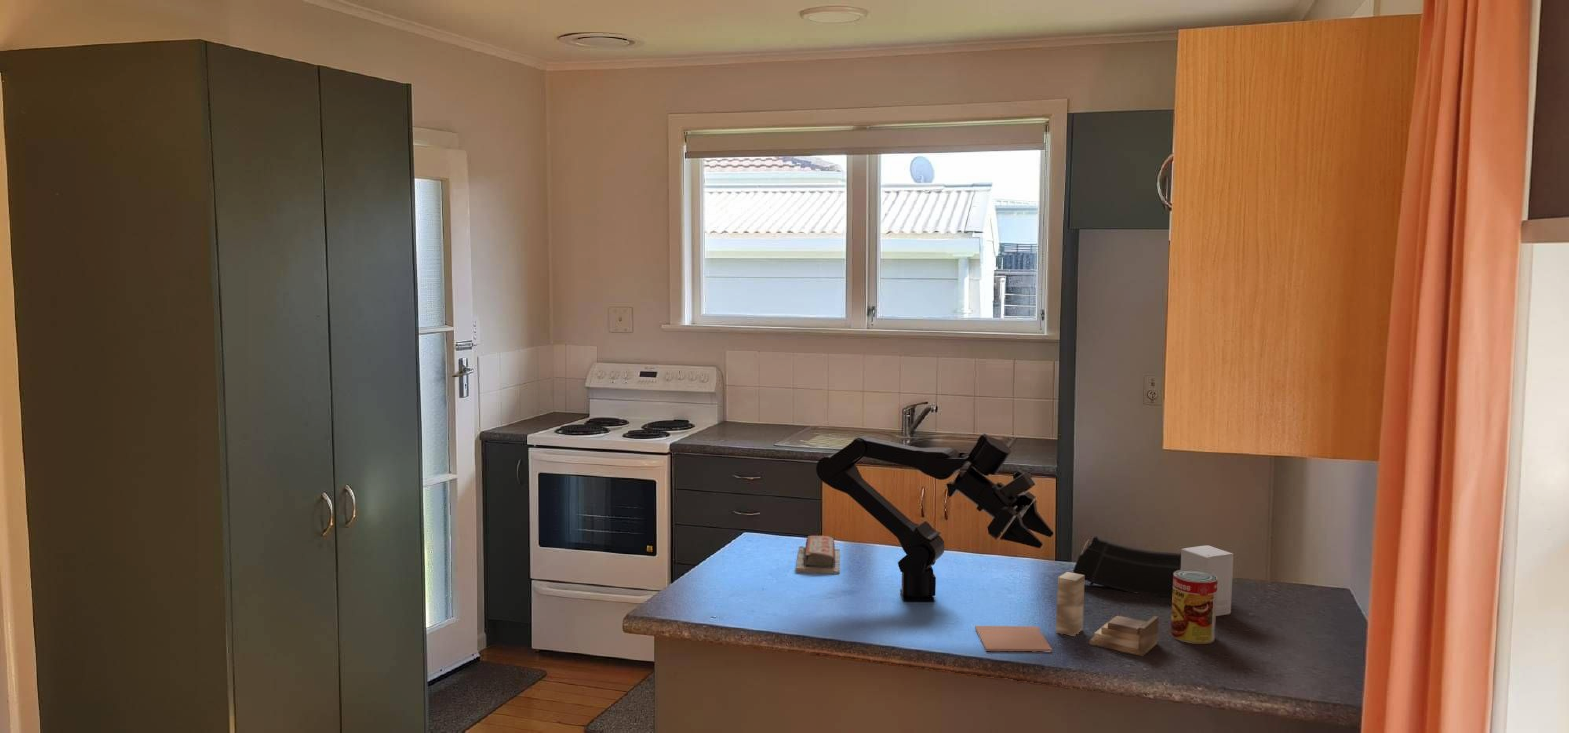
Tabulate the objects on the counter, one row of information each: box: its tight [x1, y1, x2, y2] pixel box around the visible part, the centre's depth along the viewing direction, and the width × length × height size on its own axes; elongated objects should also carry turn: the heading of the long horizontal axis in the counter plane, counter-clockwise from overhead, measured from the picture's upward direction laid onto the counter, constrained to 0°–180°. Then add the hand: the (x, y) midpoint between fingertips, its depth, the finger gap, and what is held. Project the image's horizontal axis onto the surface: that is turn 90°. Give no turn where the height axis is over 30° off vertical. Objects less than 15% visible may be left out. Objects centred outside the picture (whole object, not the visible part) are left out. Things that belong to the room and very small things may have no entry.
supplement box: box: [1180, 544, 1234, 617], centre depth 224 cm, size 7×7×13 cm
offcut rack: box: [1089, 615, 1159, 657], centre depth 206 cm, size 10×8×5 cm
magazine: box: [1072, 535, 1181, 598], centre depth 236 cm, size 17×3×30 cm
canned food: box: [1170, 569, 1218, 645], centre depth 209 cm, size 8×8×12 cm
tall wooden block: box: [1055, 571, 1086, 637], centre depth 211 cm, size 4×4×11 cm
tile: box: [974, 625, 1053, 652], centre depth 207 cm, size 12×12×1 cm
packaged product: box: [795, 535, 841, 575], centre depth 256 cm, size 18×5×10 cm
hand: (1046, 540), depth 218 cm, fingers open, 9 cm apart
